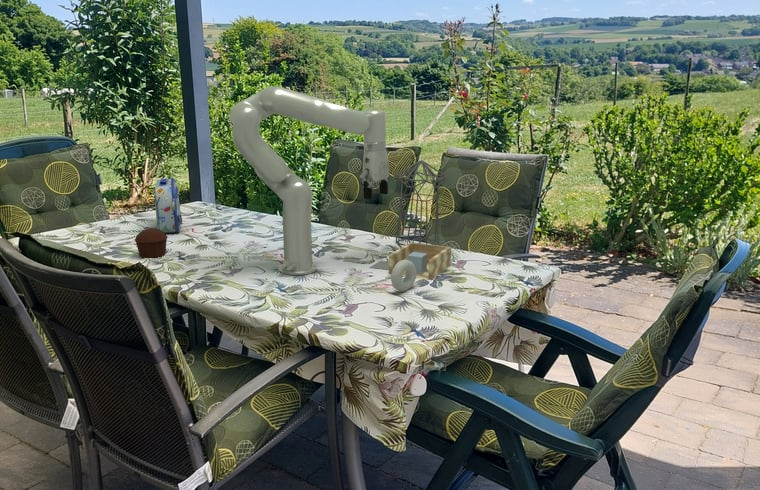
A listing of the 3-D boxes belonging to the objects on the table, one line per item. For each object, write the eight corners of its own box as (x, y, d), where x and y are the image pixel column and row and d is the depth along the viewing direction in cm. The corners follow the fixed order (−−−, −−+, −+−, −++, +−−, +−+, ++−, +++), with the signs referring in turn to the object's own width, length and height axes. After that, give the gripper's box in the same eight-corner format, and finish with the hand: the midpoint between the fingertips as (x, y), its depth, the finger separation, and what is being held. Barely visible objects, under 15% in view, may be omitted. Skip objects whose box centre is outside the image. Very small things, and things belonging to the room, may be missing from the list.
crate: (431, 281, 216) (432, 260, 214) (389, 275, 222) (389, 255, 221) (450, 266, 233) (451, 247, 231) (410, 261, 239) (410, 242, 237)
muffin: (155, 261, 238) (152, 234, 235) (129, 258, 241) (126, 231, 239) (175, 252, 249) (173, 226, 246) (150, 250, 252) (148, 224, 250)
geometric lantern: (408, 247, 258) (412, 156, 249) (445, 253, 250) (450, 160, 241) (387, 256, 245) (391, 160, 236) (425, 263, 237) (430, 165, 228)
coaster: (393, 272, 226) (393, 270, 226) (369, 269, 229) (369, 267, 229) (404, 265, 234) (404, 263, 233) (380, 262, 237) (380, 260, 237)
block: (421, 274, 222) (421, 257, 220) (407, 272, 224) (407, 255, 222) (426, 270, 226) (427, 253, 224) (413, 268, 228) (413, 251, 226)
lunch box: (183, 235, 274) (179, 182, 268) (156, 237, 271) (152, 184, 265) (181, 221, 299) (178, 172, 294) (157, 223, 296) (153, 173, 291)
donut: (410, 286, 212) (410, 255, 209) (418, 288, 209) (419, 258, 207) (388, 293, 205) (388, 262, 202) (396, 296, 202) (396, 264, 200)
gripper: (369, 150, 218) (370, 201, 223) (397, 144, 232) (398, 193, 236) (350, 149, 222) (352, 199, 227) (379, 143, 236) (380, 191, 241)
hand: (376, 196), depth 232 cm, fingers open, 9 cm apart
